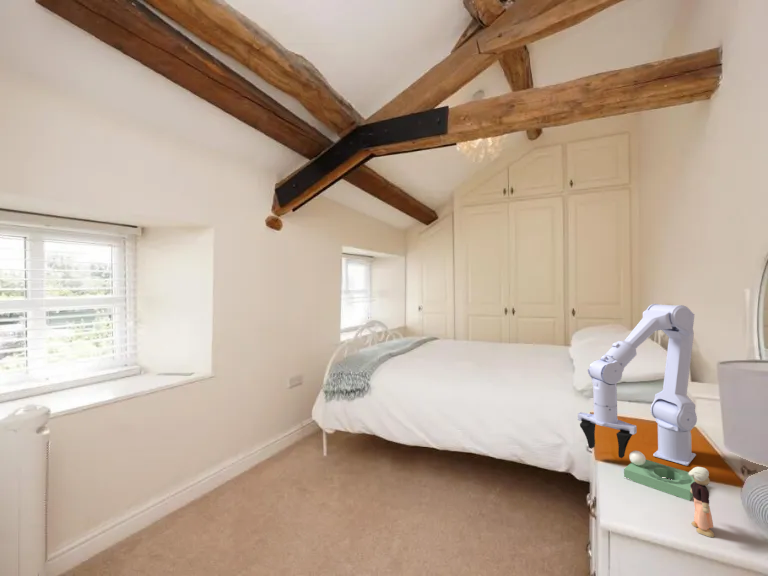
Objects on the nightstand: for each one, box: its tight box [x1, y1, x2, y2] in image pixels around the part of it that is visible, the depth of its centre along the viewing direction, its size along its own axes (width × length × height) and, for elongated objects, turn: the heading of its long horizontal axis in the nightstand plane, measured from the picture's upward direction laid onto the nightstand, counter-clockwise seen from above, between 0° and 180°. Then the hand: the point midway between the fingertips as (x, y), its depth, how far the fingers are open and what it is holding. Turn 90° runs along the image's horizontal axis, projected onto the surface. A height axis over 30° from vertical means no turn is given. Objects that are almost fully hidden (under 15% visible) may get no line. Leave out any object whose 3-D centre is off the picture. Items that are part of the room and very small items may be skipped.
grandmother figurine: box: [688, 466, 715, 538], centre depth 77 cm, size 8×4×13 cm, turn 168°
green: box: [623, 459, 695, 502], centre depth 95 cm, size 10×14×2 cm
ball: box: [628, 450, 647, 466], centre depth 99 cm, size 4×4×4 cm
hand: (606, 451), depth 105 cm, fingers open, 7 cm apart
